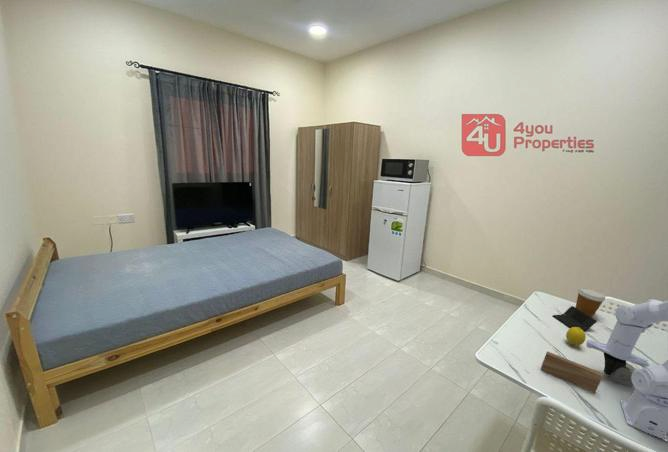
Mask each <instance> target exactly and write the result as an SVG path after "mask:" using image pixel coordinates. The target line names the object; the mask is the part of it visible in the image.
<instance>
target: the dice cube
mask: <svg viewBox="0 0 668 452" xmlns="http://www.w3.org/2000/svg"><path fill="white" fill-rule="evenodd" d="M634 370H636V369H635V368H634V366H633V364H632V365H631V364H629V363H626V366H625V367H622V368H619V369H617V370H616V371H614V372H613V373H612V374H611V375H610V376H609V377H610V380H611V381H613V382H616V383H619V384H622V385H624V386H626V387H630V388H632V387H633V386H634V385H633V383H632V380H631V376H632V373H633V371H634Z"/></svg>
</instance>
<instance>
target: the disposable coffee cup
mask: <svg viewBox="0 0 668 452" xmlns="http://www.w3.org/2000/svg"><path fill="white" fill-rule="evenodd" d="M577 292H578V293H577V297H576V298H577V299H576V303H575V308H577V309H578V310H580V311H582V312H583V313H585V314H587V315H588V316H590V317H592V318H594V315H595V314H596V313H597V311H598V310H599V308H600V307H601V306H602V304H603V302H605V301H606V295H605V294H604V293H603V292H602V291H599V290H596V289H593V288H589V287H585V286H584V287H582V286H581V287H580V288H579V289H578V290H577Z"/></svg>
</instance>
